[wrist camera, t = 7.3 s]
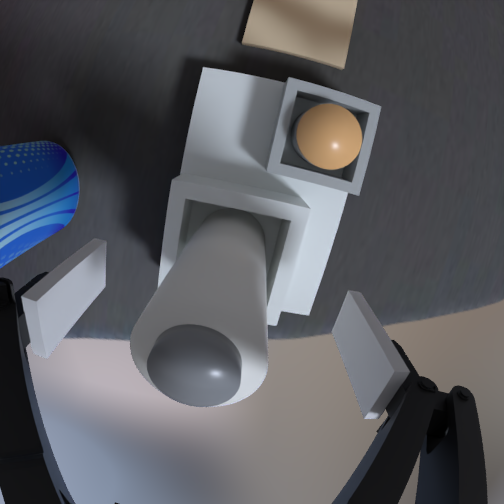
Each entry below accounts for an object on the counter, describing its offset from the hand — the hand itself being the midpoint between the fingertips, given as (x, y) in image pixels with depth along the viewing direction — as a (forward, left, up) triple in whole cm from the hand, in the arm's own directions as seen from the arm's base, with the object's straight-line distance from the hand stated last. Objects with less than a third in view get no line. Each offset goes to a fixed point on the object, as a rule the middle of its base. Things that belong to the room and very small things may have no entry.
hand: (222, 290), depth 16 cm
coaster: (-19, +1, -10) cm, 22 cm away
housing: (-4, +1, -10) cm, 11 cm away
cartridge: (0, 0, -7) cm, 7 cm away
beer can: (-1, -18, -10) cm, 20 cm away
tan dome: (-9, +4, -7) cm, 12 cm away
